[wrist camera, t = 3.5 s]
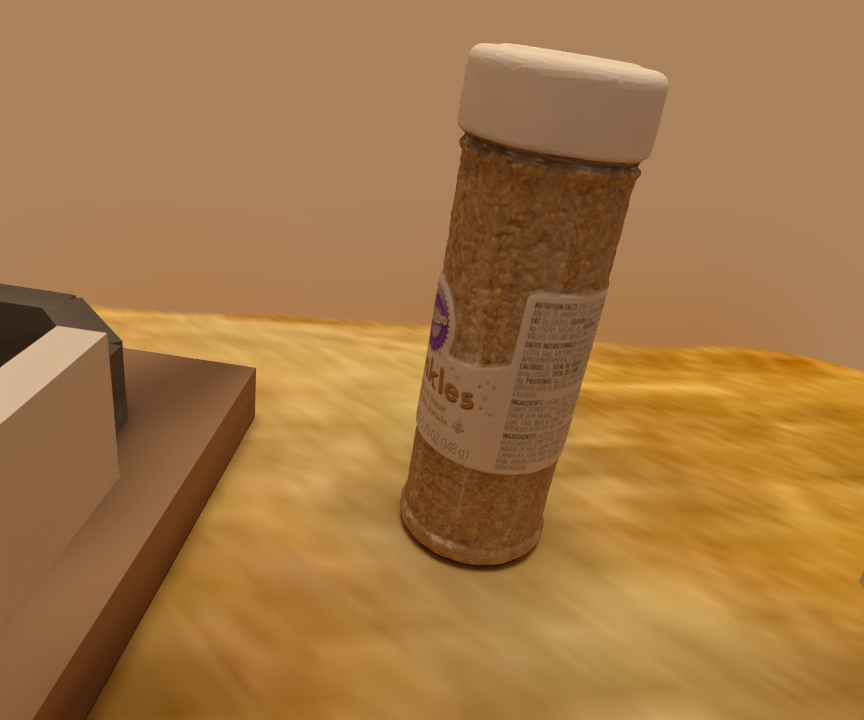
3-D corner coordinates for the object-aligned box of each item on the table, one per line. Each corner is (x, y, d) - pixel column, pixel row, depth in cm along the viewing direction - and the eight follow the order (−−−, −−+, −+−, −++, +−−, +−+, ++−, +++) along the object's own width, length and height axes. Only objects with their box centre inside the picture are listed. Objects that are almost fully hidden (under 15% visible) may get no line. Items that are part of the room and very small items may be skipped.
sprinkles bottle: (376, 488, 22) (434, 31, 16) (494, 465, 24) (586, 54, 18) (439, 591, 18) (546, 51, 12) (572, 554, 20) (720, 76, 14)
